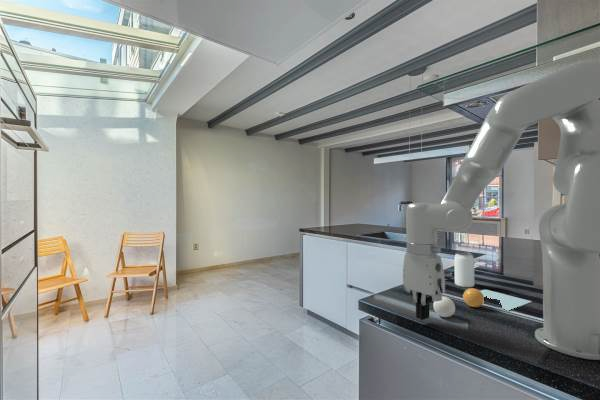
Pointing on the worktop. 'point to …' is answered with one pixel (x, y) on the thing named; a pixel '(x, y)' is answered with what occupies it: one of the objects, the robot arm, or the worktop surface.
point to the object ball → (473, 297)
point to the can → (464, 269)
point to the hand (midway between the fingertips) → (422, 317)
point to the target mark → (505, 299)
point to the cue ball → (444, 307)
